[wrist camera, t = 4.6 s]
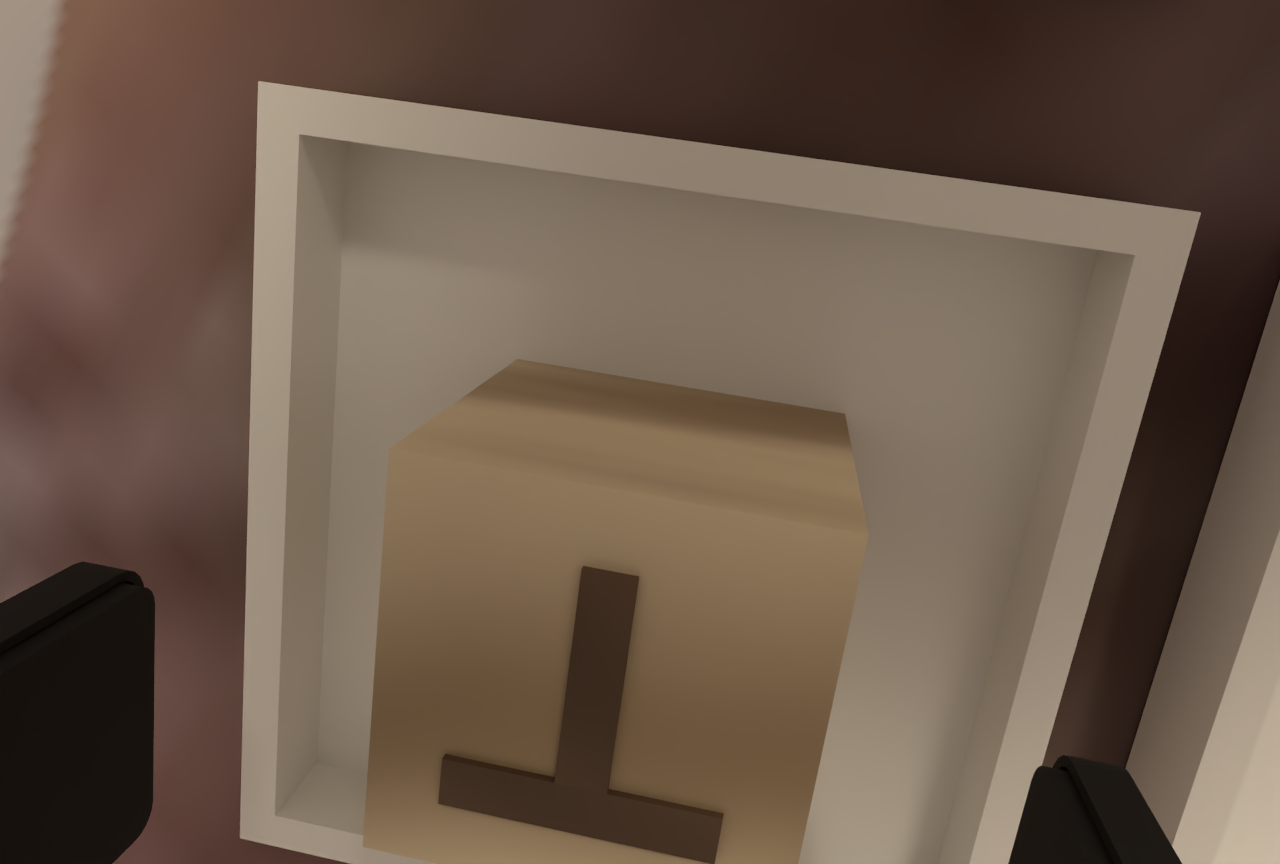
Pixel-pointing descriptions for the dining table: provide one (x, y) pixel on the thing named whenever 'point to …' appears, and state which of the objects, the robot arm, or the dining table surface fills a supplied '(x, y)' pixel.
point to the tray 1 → (713, 361)
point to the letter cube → (609, 624)
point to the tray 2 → (1225, 655)
